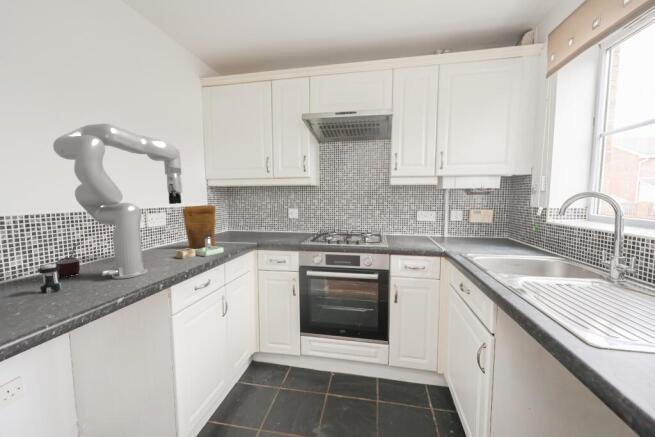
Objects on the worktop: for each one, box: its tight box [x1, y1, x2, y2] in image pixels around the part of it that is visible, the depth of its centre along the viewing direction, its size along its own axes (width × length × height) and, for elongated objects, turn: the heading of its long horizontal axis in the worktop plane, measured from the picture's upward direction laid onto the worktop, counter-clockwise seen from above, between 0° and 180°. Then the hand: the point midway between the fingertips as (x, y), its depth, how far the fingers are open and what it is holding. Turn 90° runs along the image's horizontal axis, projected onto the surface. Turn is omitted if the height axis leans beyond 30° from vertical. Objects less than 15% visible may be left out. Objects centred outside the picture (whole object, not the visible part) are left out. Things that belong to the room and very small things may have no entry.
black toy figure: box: [35, 263, 62, 294], centre depth 93 cm, size 7×5×10 cm
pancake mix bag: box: [182, 205, 217, 249], centre depth 166 cm, size 7×19×28 cm, turn 109°
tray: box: [195, 246, 225, 258], centre depth 151 cm, size 12×12×3 cm
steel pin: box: [205, 237, 211, 251], centre depth 150 cm, size 3×3×9 cm
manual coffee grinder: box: [56, 242, 81, 279], centre depth 111 cm, size 8×8×15 cm
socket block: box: [175, 247, 196, 260], centre depth 143 cm, size 7×7×4 cm
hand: (175, 203), depth 139 cm, fingers open, 9 cm apart
